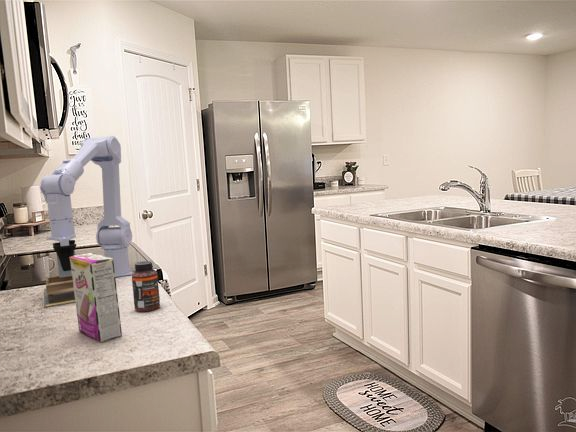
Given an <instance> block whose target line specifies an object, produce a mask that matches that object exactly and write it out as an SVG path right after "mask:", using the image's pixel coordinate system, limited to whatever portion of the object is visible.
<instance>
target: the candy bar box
mask: <svg viewBox="0 0 576 432" xmlns="http://www.w3.org/2000/svg"><path fill="white" fill-rule="evenodd" d="M69 258H70V265H71V272H72V280H73V287H74V294H75V302H76V303H75V308H76V310H75V311H76V316H77V324H78V326H77V327H78V330H79V332H81V333H83V334H85V335H86V336H88V337H89V338H92V339H94V340H95V341H97V342H99V343H104V342H107V341H111V340H114V339H116V338H119V337H122V336H123V333H122V323H121V316H120V315H121V314H120V307H119V299H118V297H119V296H118V289H117V288H118V287H117V281H116V277H115V271H114V263H113V258H109V257H105V256H104V255H101V254H98V253H93V252H87V253H81V254H76V255H74V256H71V257H69Z"/></svg>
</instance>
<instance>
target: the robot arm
mask: <svg viewBox="0 0 576 432" xmlns="http://www.w3.org/2000/svg"><path fill="white" fill-rule="evenodd" d="M90 161H91V162H92V163H93V164H94V165H97V166H99V167H100V169H101V176H102V199H103V200H102V201H103V202H102V203H103V218H102V219H101V220H100V221H99V222H98V223H97V229H96V234H95V235H96V236H95V240H96V243H97V244H98V246H100V248H101V249H102V250H103V256H105V257H109V258H113V263H114V271H115V278H117V277H118V278H120V277H125V276H129V275H131V276H132V274H133V273H134V272H133V271H132V270H131V268H130V259H129V251H128V250H129V249H128V247H130V246H131V245H130V244H131V243H132V242H133V231H132V229H131V223H130V222H129V221H128V220H126V219H125V218H124V217H122V208H121V207H122V205H121V183H120V181H121V180H120V164H121V163H122V147H121V143H120V141H119V140H118V139H117V137H116V136H115V135H110V136H99V137H85V138H84V139H83V141H81V142H80V149H79V150H78V151H77V153H76V154H75V155H74V156H73V157H72V158H71V157H70V158H64V159H63V160H62V163H61V164H60V165H59V166H58V167H57V168H55V169H54V171H53V172H52V173H51V174H47V175H45V176H44V177H43V178H42V179H41V181H40V185H39V189H40V192H41V194H42V196H43V198H44V201H45V203H46V204H47V211H48V212H47V213H48V219H49V226H50V236H46V241H54V242H53V243H52V249H53V250H54V251H55V253H56V256H57V255H58V257H59V260H60V263H61V266H62V269H63V271H70V270H71V265H70V258H69V257H71V256H73V254H74V251H76V247H77V244H76V241H75V238H76V237H77V234H76V233H75V225H74V217H73V208H72V206H73V205H72V200H71V199H72V198H71V195H72V194H73V193H74V191H75V185H76V183H77V181H78V179H80V178H81V176H82V175H83V174H84V171H85V170H84V167H85V166H86V165H87V164H88V163H90ZM113 226H114V227H113ZM115 226H116V227H115ZM55 241H56V242H55Z"/></svg>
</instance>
